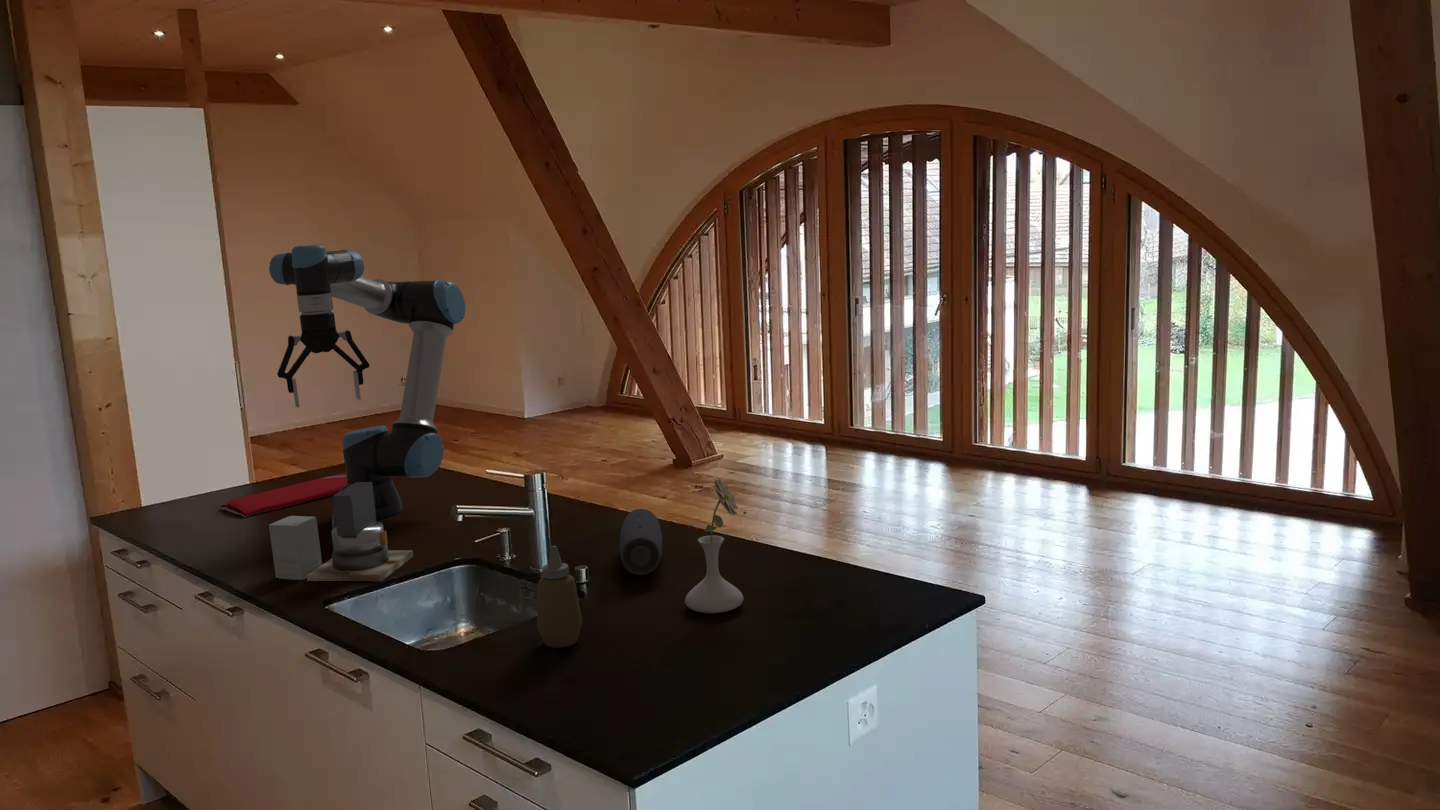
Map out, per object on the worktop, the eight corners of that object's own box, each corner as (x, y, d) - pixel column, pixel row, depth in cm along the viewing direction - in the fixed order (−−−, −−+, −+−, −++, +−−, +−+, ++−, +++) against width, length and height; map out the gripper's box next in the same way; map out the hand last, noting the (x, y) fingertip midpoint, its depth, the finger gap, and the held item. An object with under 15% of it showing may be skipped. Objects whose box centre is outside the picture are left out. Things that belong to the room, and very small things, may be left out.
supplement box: (324, 570, 241) (317, 516, 239) (301, 581, 234) (294, 525, 232) (297, 568, 244) (291, 514, 241) (274, 578, 237) (267, 524, 234)
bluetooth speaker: (664, 579, 224) (662, 533, 222) (620, 582, 223) (617, 536, 222) (662, 546, 246) (660, 504, 245) (622, 549, 246) (619, 507, 244)
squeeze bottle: (540, 635, 196) (532, 541, 193) (584, 632, 197) (577, 538, 194) (536, 653, 188) (528, 555, 185) (582, 649, 189) (575, 552, 186)
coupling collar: (324, 558, 234) (317, 496, 232) (346, 541, 246) (340, 482, 244) (376, 556, 234) (370, 495, 231) (396, 540, 245) (390, 481, 243)
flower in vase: (724, 622, 198) (717, 492, 194) (673, 613, 204) (666, 486, 200) (759, 599, 209) (753, 476, 205) (710, 591, 215) (703, 471, 211)
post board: (344, 556, 250) (342, 538, 249) (413, 556, 248) (411, 537, 247) (307, 581, 234) (305, 562, 233) (381, 581, 231) (378, 561, 230)
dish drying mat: (219, 511, 300) (218, 498, 299) (353, 480, 330) (351, 468, 329) (245, 520, 290) (243, 506, 289) (380, 486, 319) (379, 474, 319)
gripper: (258, 319, 238) (271, 412, 242) (374, 308, 248) (385, 398, 252) (257, 316, 245) (270, 406, 249) (370, 306, 255) (381, 393, 259)
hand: (328, 402), depth 251 cm, fingers open, 13 cm apart
